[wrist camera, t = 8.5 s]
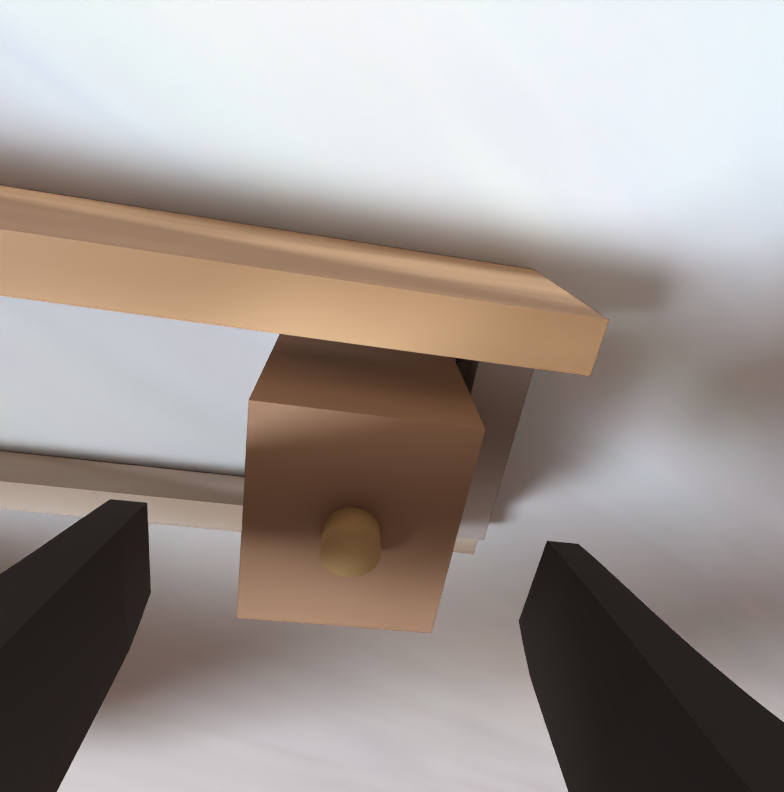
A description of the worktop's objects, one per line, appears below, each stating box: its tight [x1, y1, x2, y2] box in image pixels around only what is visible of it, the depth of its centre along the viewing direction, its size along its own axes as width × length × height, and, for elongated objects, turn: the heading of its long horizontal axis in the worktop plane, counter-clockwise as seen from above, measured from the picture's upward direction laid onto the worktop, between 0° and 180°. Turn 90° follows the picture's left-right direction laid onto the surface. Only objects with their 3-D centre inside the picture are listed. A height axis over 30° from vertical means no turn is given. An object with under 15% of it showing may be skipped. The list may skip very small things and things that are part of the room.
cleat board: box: [0, 185, 609, 554], centre depth 13 cm, size 9×19×5 cm, turn 81°
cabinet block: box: [237, 334, 485, 633], centre depth 13 cm, size 6×4×7 cm
